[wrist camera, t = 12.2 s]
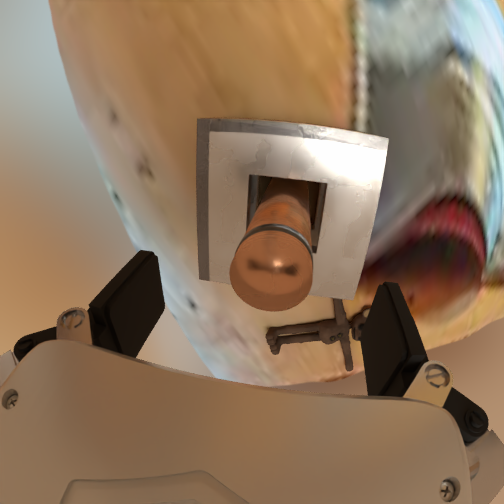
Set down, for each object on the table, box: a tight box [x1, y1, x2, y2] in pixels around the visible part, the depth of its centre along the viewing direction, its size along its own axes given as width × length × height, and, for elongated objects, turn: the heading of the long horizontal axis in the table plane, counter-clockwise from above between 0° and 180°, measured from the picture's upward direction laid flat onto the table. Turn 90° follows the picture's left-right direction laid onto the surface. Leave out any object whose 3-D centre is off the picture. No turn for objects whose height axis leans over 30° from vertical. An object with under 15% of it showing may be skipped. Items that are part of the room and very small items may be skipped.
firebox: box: [196, 118, 388, 300], centre depth 25 cm, size 14×14×8 cm
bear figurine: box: [266, 298, 370, 371], centre depth 34 cm, size 18×4×14 cm
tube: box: [229, 177, 313, 311], centre depth 21 cm, size 4×4×17 cm
